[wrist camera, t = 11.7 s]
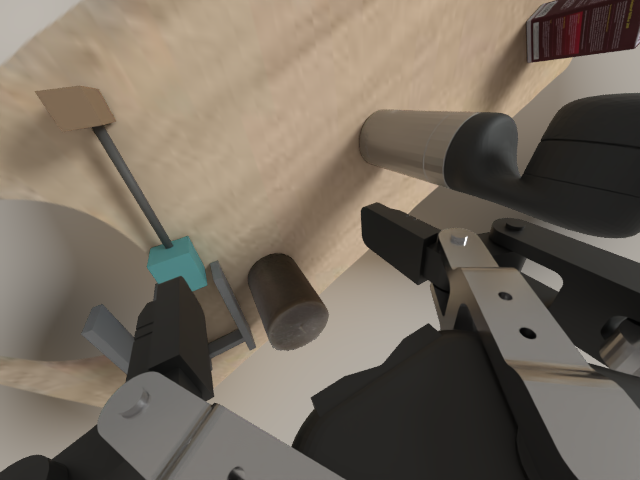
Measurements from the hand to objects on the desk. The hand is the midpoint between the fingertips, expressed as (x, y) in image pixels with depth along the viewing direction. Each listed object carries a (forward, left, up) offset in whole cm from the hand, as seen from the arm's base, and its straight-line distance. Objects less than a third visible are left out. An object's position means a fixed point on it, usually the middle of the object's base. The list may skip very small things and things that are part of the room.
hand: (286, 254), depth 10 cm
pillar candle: (-2, +24, -28) cm, 37 cm away
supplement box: (-68, -8, -28) cm, 74 cm away
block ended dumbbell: (+10, +4, -28) cm, 30 cm away
